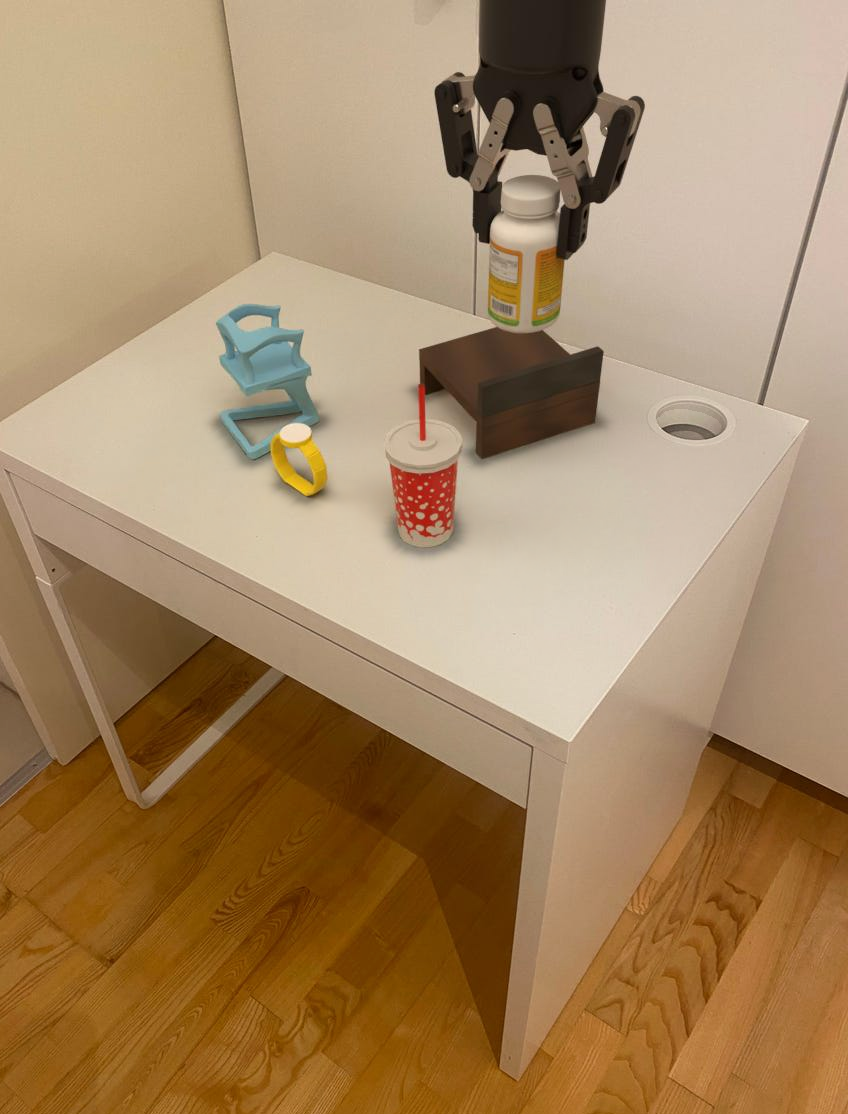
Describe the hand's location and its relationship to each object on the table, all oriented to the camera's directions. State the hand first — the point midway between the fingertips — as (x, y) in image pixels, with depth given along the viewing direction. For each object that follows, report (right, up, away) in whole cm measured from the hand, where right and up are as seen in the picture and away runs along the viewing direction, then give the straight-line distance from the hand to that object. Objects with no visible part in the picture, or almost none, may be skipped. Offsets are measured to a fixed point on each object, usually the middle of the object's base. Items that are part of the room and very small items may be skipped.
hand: (527, 245), depth 70 cm
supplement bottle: (0, -4, +4) cm, 6 cm away
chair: (-20, -8, +25) cm, 33 cm away
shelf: (+2, -6, +25) cm, 25 cm away
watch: (-17, -15, +18) cm, 29 cm away
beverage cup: (-6, -19, +13) cm, 24 cm away
